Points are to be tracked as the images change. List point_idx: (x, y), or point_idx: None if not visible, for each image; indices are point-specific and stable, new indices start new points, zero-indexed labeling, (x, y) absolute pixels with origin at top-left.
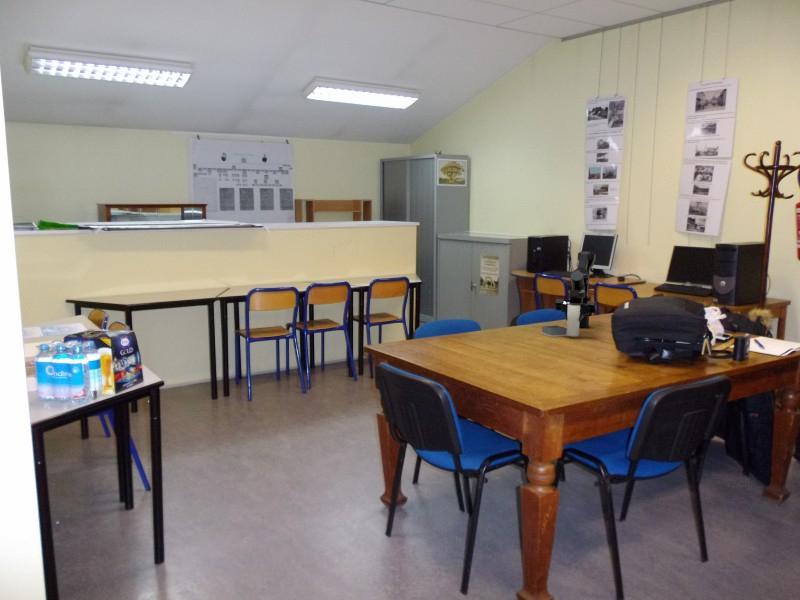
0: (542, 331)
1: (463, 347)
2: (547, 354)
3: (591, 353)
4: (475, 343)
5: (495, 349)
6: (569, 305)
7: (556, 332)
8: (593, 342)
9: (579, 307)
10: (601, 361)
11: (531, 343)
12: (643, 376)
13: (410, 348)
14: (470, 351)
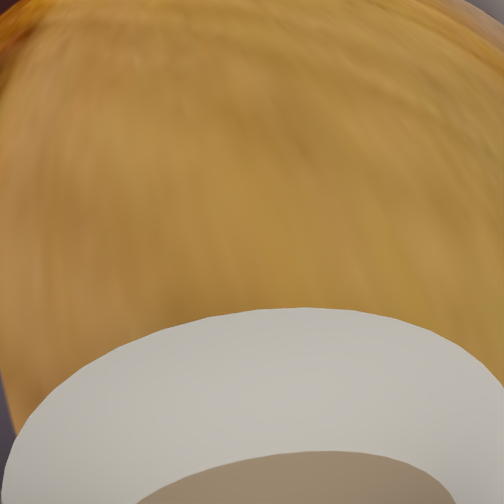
0: None
1: (449, 30)
2: (225, 10)
3: (74, 80)
4: (476, 68)
5: (388, 20)
6: (470, 419)
7: None
8: (66, 333)
9: (36, 501)
10: (59, 34)
11: (378, 111)
12: (10, 21)
13: (481, 22)
14: (407, 5)
